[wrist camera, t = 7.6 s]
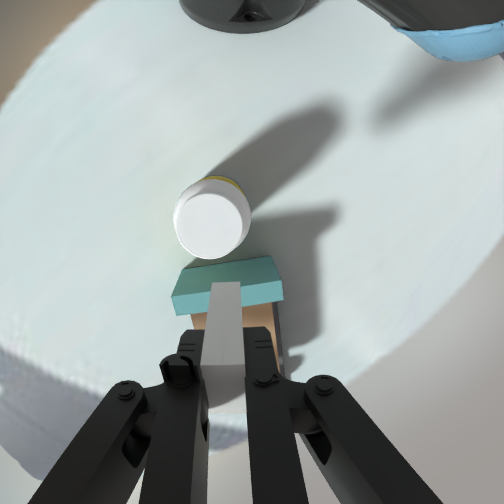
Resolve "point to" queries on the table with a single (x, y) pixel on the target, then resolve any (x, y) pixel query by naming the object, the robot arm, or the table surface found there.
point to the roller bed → (244, 271)
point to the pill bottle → (212, 217)
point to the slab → (247, 320)
